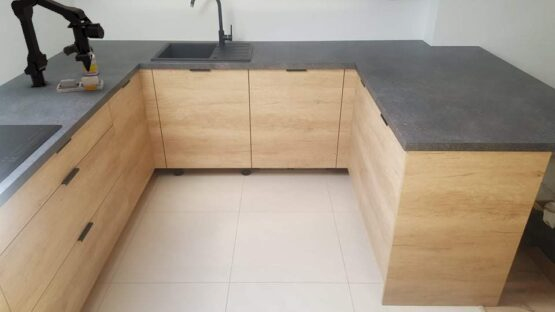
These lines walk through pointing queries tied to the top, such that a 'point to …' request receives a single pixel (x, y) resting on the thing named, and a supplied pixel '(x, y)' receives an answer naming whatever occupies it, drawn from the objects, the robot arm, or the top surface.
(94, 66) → the supplement bottle
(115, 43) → the top surface
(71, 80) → the grey filler panel
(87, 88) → the rack
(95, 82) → the white panel
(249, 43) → the top surface
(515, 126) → the top surface
